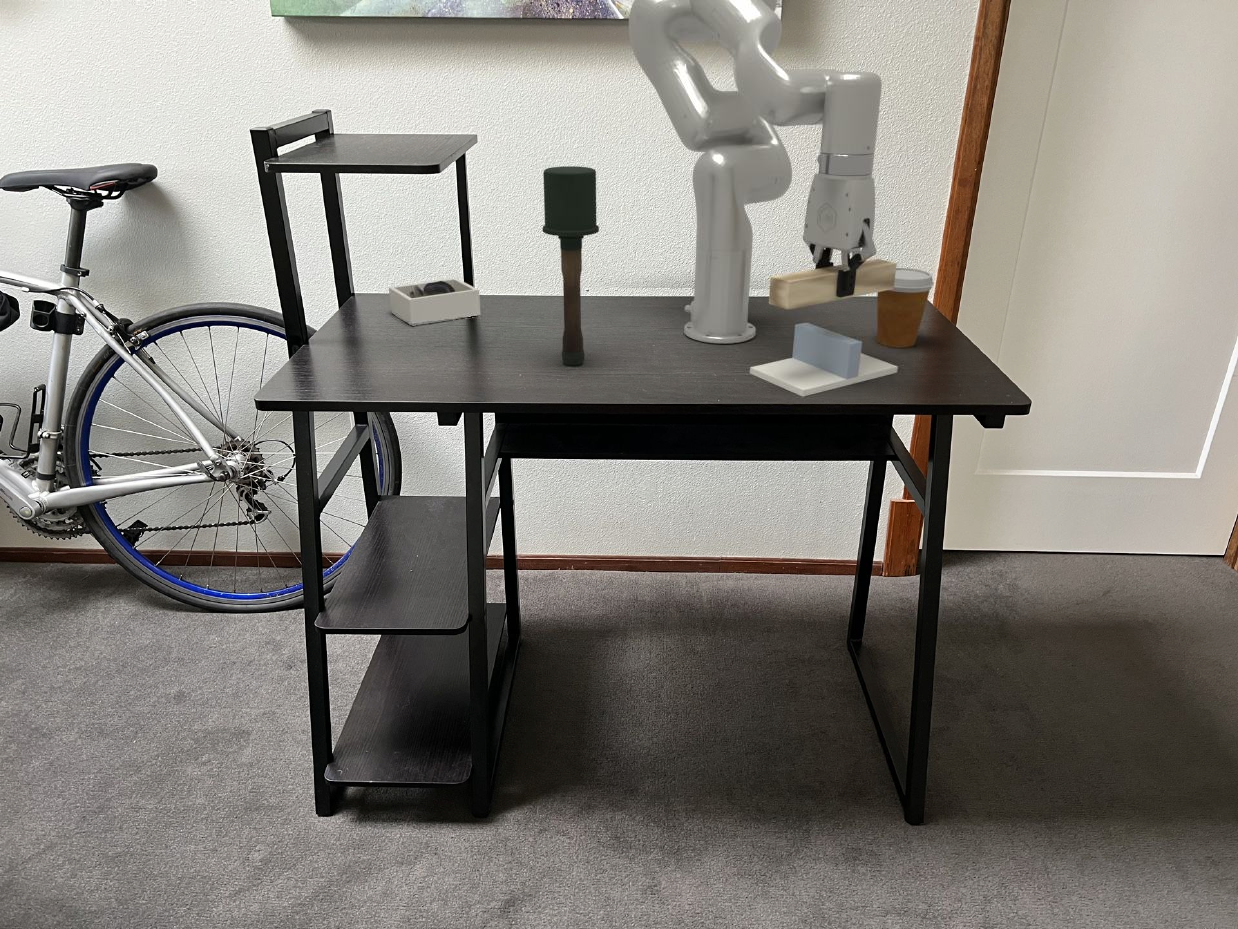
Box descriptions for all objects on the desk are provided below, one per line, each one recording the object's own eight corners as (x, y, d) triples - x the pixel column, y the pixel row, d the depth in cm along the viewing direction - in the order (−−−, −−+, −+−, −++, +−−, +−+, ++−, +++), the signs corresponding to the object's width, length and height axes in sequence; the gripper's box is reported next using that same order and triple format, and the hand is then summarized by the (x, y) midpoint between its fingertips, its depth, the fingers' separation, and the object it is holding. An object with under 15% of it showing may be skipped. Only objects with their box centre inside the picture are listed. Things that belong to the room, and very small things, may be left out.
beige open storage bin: (391, 313, 173) (388, 287, 170) (457, 303, 179) (456, 278, 177) (411, 327, 164) (409, 299, 162) (480, 316, 171) (479, 289, 169)
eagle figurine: (410, 315, 166) (458, 305, 167) (402, 278, 167) (451, 268, 167) (419, 327, 174) (465, 317, 174) (411, 291, 175) (457, 282, 175)
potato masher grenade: (607, 357, 149) (606, 167, 136) (588, 374, 142) (586, 174, 129) (559, 352, 152) (554, 164, 139) (538, 368, 144) (531, 171, 132)
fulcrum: (749, 373, 143) (752, 333, 140) (841, 352, 152) (846, 314, 150) (802, 396, 134) (806, 354, 131) (896, 372, 143) (902, 332, 141)
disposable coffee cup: (856, 338, 160) (864, 270, 155) (899, 331, 163) (908, 265, 158) (891, 353, 152) (901, 282, 147) (936, 346, 155) (947, 277, 150)
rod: (768, 303, 134) (770, 276, 132) (874, 283, 144) (877, 258, 143) (787, 309, 131) (789, 282, 129) (893, 289, 141) (896, 263, 140)
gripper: (786, 162, 134) (777, 284, 142) (871, 174, 121) (856, 308, 129) (823, 158, 138) (812, 278, 146) (909, 170, 125) (893, 301, 133)
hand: (833, 291), depth 137 cm, fingers closed on rod, 4 cm apart
